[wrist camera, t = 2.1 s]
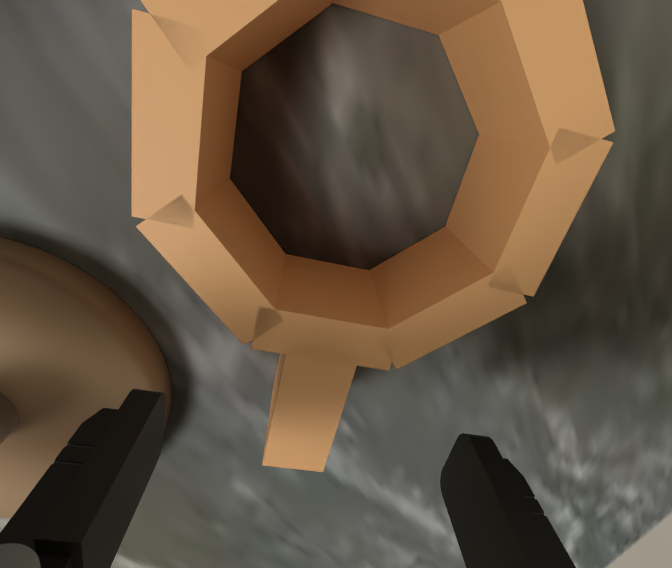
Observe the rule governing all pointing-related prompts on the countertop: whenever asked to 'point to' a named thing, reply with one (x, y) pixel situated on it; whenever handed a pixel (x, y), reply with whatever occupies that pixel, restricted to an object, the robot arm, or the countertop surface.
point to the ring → (405, 267)
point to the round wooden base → (61, 361)
